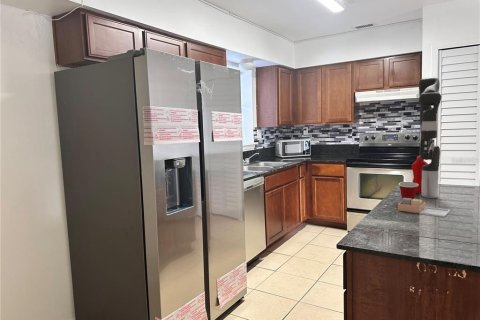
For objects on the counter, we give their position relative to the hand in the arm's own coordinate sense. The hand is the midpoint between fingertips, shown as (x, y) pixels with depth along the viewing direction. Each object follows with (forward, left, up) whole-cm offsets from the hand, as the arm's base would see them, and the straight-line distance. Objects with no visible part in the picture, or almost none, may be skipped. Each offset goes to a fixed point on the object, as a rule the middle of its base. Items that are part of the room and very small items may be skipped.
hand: (428, 159), depth 182 cm
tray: (+8, +5, -28) cm, 30 cm away
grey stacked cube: (+8, -9, -27) cm, 29 cm away
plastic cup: (-7, -12, -28) cm, 32 cm away
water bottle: (-42, -15, -28) cm, 53 cm away
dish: (+8, -6, -28) cm, 30 cm away
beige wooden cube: (+8, -4, -27) cm, 28 cm away
